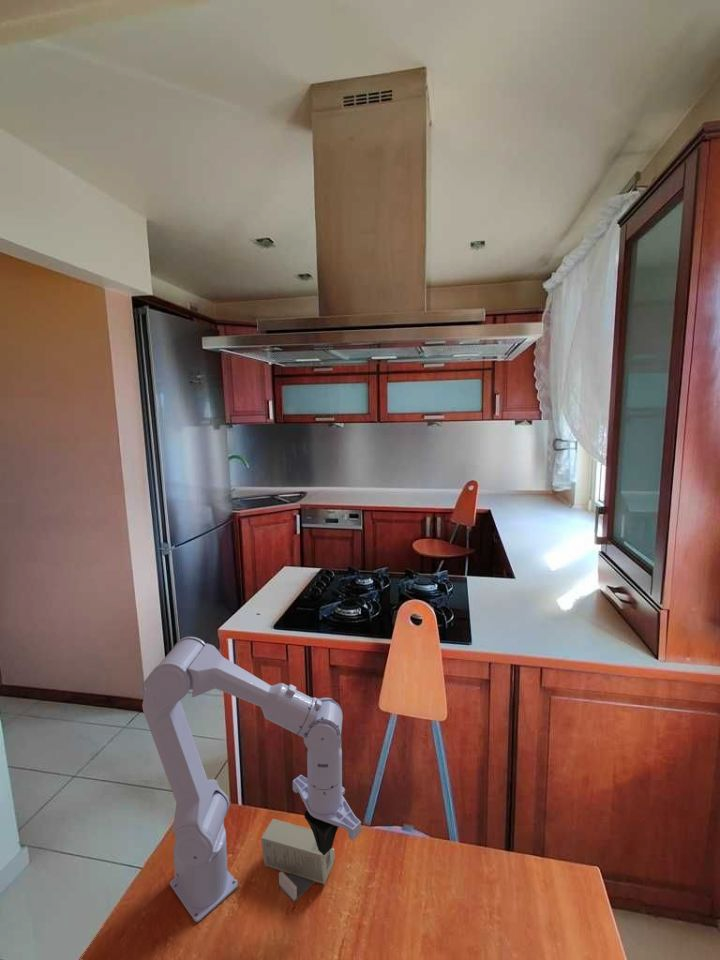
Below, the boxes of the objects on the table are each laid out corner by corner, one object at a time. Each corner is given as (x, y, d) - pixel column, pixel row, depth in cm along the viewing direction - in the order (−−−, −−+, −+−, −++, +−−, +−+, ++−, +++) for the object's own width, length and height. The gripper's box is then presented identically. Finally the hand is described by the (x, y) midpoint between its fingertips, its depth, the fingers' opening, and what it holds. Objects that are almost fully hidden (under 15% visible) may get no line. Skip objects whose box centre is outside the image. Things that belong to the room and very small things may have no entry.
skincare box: (332, 833, 81) (273, 815, 85) (321, 857, 77) (260, 837, 81) (334, 863, 82) (276, 844, 86) (324, 887, 78) (263, 866, 82)
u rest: (279, 886, 79) (278, 873, 78) (319, 848, 86) (319, 836, 86) (294, 902, 76) (293, 889, 76) (334, 861, 83) (334, 849, 83)
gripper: (373, 785, 73) (373, 859, 75) (313, 742, 83) (314, 809, 85) (343, 813, 68) (343, 891, 70) (282, 764, 78) (284, 834, 79)
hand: (325, 848), depth 77 cm, fingers closed
